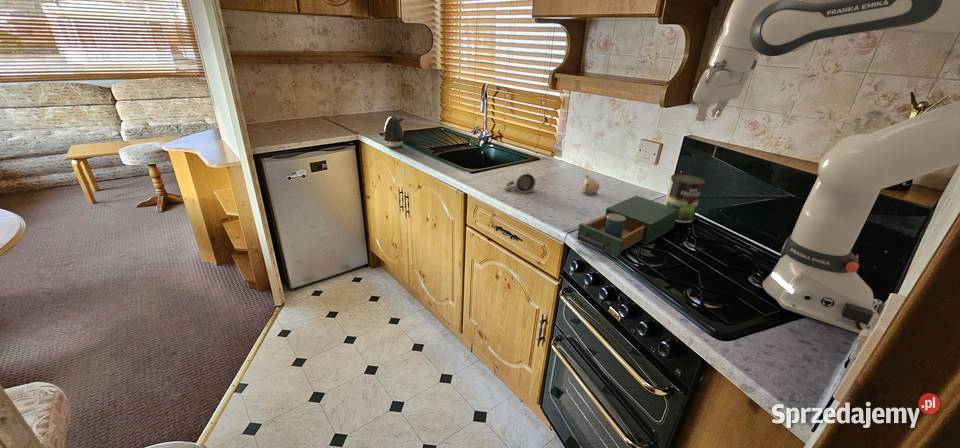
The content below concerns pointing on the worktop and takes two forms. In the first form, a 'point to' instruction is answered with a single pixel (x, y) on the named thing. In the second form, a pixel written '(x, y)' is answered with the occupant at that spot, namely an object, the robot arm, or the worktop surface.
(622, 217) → the spice tin
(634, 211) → the cabinet
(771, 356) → the worktop surface
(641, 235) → the drawer
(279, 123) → the worktop surface
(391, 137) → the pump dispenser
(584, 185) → the garlic bulb
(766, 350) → the worktop surface
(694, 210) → the coffee can
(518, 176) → the ceramic mug
